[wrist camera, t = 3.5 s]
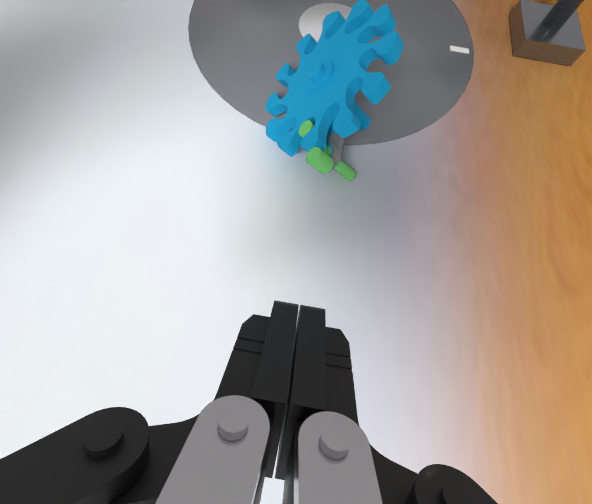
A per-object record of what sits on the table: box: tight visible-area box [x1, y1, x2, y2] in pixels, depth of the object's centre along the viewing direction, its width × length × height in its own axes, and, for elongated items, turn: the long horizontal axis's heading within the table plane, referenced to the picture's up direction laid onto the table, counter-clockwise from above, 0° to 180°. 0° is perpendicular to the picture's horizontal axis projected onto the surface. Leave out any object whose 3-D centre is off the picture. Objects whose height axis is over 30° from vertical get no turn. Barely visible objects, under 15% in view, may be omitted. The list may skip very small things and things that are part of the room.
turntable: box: [189, 0, 473, 145], centre depth 29 cm, size 24×24×1 cm
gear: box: [265, 0, 404, 180], centre depth 22 cm, size 11×6×10 cm
